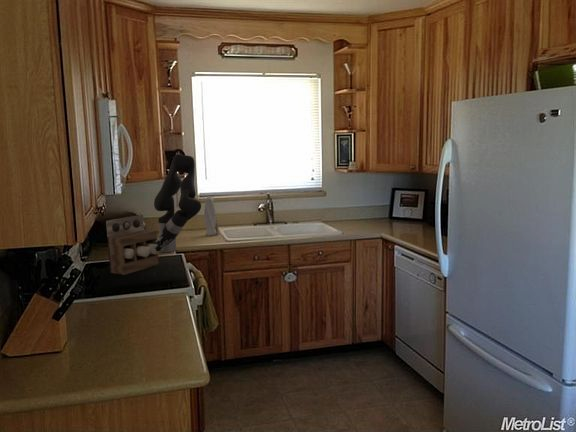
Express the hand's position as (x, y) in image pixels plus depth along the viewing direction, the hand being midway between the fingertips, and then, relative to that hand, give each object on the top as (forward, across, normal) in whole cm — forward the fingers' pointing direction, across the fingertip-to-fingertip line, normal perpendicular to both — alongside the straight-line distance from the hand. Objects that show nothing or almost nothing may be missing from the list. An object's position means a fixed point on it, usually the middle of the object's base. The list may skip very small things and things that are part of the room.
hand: (157, 249), depth 253 cm
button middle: (+5, +7, -1) cm, 8 cm away
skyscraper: (+33, -85, -19) cm, 93 cm away
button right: (+5, 0, -1) cm, 5 cm away
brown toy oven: (+13, +7, 0) cm, 15 cm away
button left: (+7, +13, -4) cm, 16 cm away
